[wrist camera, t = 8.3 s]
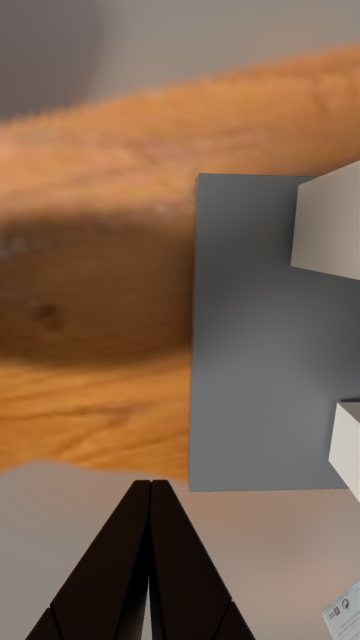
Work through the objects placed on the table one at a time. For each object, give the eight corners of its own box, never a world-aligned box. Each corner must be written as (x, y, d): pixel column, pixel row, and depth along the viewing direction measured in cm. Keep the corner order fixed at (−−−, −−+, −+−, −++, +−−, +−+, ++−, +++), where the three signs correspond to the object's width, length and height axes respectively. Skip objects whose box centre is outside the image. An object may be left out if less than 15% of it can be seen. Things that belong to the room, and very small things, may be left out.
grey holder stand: (187, 475, 22) (201, 615, 14) (195, 178, 18) (223, 123, 9) (385, 471, 23) (511, 602, 15) (443, 185, 18) (674, 140, 10)
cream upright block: (290, 266, 17) (387, 285, 10) (298, 185, 16) (412, 138, 9) (327, 266, 17) (450, 286, 10) (337, 186, 16) (482, 141, 9)
